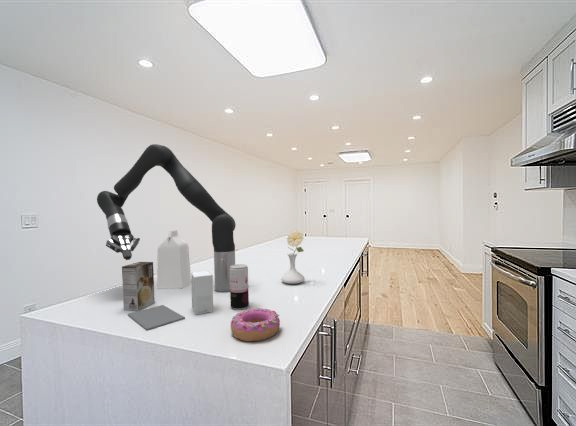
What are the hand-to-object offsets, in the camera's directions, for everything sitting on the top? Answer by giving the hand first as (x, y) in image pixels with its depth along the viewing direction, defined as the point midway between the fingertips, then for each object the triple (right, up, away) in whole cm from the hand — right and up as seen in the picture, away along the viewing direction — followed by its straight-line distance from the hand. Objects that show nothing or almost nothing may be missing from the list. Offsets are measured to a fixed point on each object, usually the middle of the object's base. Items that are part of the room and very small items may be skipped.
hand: (128, 258), depth 113 cm
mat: (+19, -17, -18) cm, 31 cm away
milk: (+10, -16, +22) cm, 29 cm away
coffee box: (+8, -17, -7) cm, 20 cm away
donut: (+55, -17, -31) cm, 65 cm away
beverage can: (+46, -16, -10) cm, 50 cm away
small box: (+33, -17, -12) cm, 39 cm away
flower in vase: (+67, -15, +21) cm, 72 cm away
